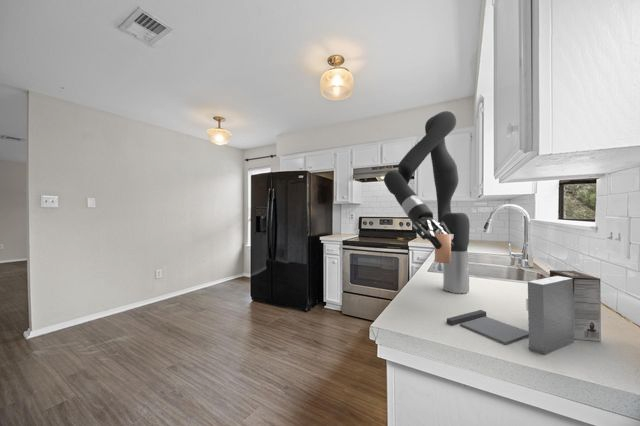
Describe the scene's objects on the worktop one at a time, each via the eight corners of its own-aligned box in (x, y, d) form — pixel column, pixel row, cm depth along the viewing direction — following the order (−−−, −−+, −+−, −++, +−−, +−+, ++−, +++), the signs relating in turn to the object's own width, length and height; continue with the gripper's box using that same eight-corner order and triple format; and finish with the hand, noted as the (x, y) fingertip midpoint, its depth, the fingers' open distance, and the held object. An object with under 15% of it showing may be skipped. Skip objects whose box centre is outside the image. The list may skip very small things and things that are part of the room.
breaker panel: (552, 335, 67) (551, 274, 67) (573, 342, 63) (572, 278, 63) (523, 346, 61) (521, 280, 61) (544, 355, 57) (543, 284, 57)
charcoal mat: (486, 318, 78) (486, 316, 78) (532, 335, 67) (532, 332, 67) (460, 325, 73) (460, 323, 73) (505, 344, 62) (505, 342, 62)
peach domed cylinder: (441, 260, 85) (441, 233, 85) (454, 262, 80) (454, 234, 80) (431, 261, 83) (431, 234, 83) (444, 263, 78) (443, 235, 78)
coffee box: (548, 324, 73) (547, 269, 74) (574, 326, 72) (573, 270, 72) (573, 339, 64) (572, 276, 65) (603, 342, 63) (602, 278, 63)
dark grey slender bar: (480, 315, 81) (480, 309, 81) (486, 317, 80) (486, 311, 80) (446, 324, 74) (446, 318, 74) (452, 327, 73) (452, 320, 73)
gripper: (406, 202, 86) (436, 240, 75) (436, 203, 92) (468, 238, 81) (396, 217, 91) (423, 255, 80) (425, 217, 97) (453, 252, 86)
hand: (445, 246), depth 81 cm, fingers closed on peach domed cylinder, 4 cm apart
